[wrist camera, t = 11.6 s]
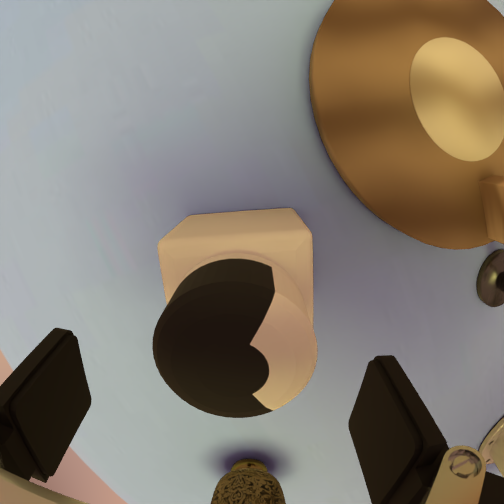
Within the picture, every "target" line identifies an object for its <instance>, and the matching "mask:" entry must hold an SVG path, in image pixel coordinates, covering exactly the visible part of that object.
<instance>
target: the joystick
mask: <svg viewBox="0 0 504 504" xmlns="http://www.w3.org/2000/svg"><path fill="white" fill-rule="evenodd" d="M477 293H478V296H479V298H480V299H481V300H482V301H483V302H484V303H486V304H487V305H488V306H491V307H497V306H500V305H502V304H503V303H504V250H503V249H501V250H497V251H495V252H493V253H492V254H490V255H489V256H488V257H487V259H486V260H485V261H484V263H483V265H482V266H481V269H480V271H479V274H478V278H477Z"/></svg>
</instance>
